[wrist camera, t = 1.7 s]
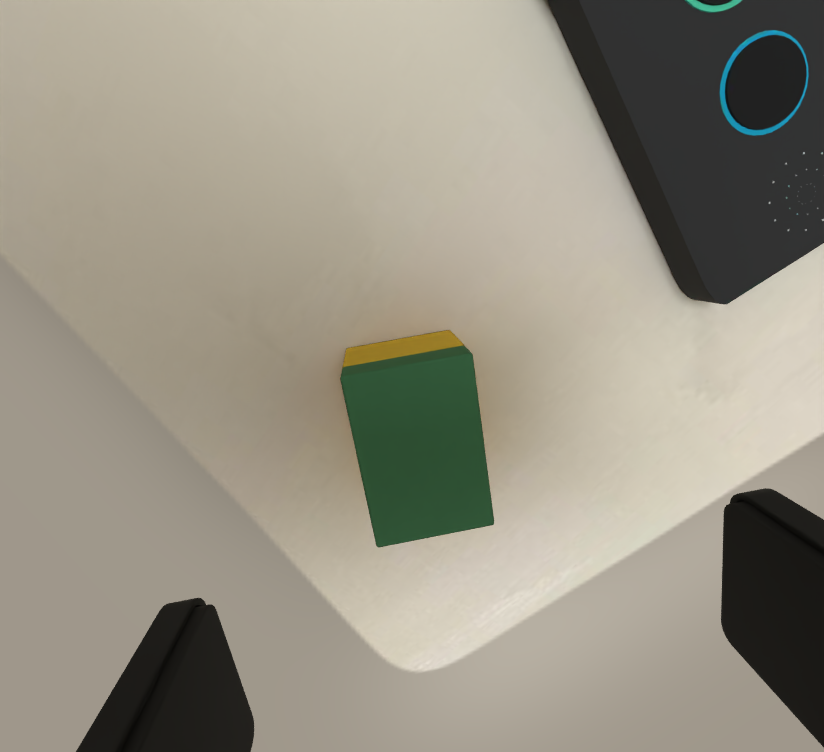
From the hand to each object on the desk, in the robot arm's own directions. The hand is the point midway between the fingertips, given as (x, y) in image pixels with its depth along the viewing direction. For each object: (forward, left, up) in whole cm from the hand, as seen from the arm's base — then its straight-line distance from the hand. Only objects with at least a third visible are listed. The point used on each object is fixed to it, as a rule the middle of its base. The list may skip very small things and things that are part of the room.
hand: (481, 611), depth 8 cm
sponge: (0, 0, -10) cm, 10 cm away
